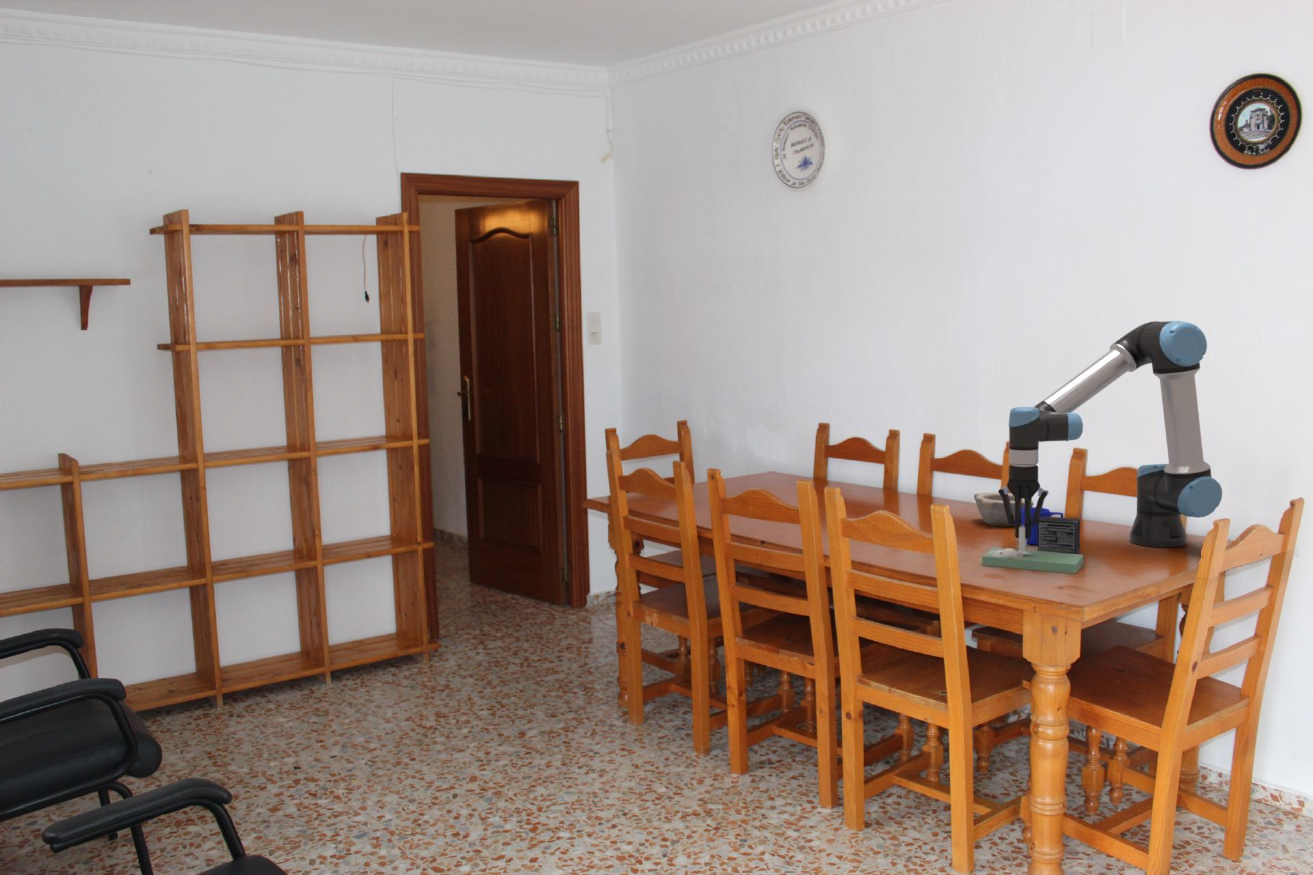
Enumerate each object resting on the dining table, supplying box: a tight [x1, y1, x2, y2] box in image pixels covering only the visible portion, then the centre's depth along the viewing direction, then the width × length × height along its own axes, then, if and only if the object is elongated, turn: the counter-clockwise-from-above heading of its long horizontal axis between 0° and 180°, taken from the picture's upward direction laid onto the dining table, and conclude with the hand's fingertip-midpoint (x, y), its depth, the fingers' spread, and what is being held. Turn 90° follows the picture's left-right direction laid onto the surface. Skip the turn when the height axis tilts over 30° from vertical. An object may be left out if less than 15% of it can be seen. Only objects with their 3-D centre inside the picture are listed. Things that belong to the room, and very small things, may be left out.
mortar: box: [973, 492, 1034, 528], centre depth 339 cm, size 17×17×9 cm
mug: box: [1021, 506, 1064, 546], centre depth 310 cm, size 8×12×10 cm
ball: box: [1002, 547, 1017, 556], centre depth 289 cm, size 4×4×4 cm
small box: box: [1037, 516, 1081, 555], centre depth 295 cm, size 11×6×10 cm, turn 59°
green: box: [981, 546, 1084, 575], centre depth 286 cm, size 24×12×2 cm, turn 59°
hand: (1022, 550), depth 287 cm, fingers closed
